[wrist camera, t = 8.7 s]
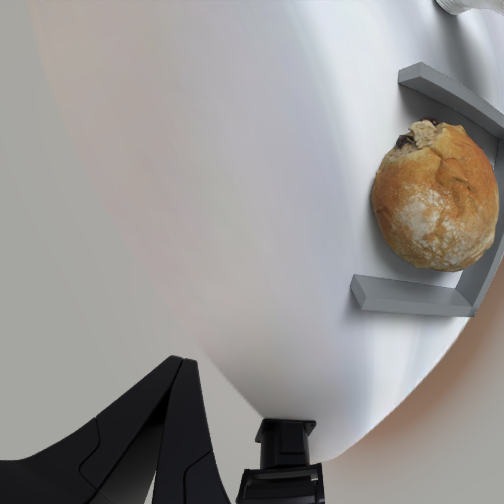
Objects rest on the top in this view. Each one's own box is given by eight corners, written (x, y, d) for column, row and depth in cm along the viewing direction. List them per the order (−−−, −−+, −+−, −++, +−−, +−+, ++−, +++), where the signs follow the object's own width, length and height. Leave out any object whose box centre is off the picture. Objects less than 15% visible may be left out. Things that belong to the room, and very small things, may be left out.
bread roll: (348, 216, 21) (370, 303, 16) (373, 94, 13) (440, 161, 8) (442, 221, 20) (476, 294, 15) (482, 125, 12) (548, 193, 7)
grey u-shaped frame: (457, 298, 19) (473, 317, 17) (350, 286, 19) (361, 309, 16) (506, 133, 13) (529, 137, 10) (399, 70, 13) (421, 62, 10)
